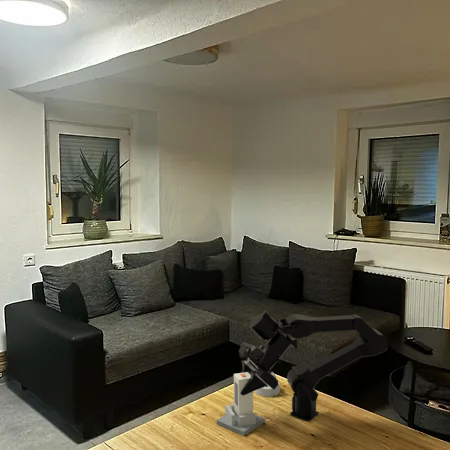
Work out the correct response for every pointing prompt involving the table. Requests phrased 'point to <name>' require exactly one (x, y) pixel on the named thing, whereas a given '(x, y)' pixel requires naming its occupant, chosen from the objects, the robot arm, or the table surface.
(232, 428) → the plate
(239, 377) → the white block orange patch
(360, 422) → the table surface
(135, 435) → the table surface
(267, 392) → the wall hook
